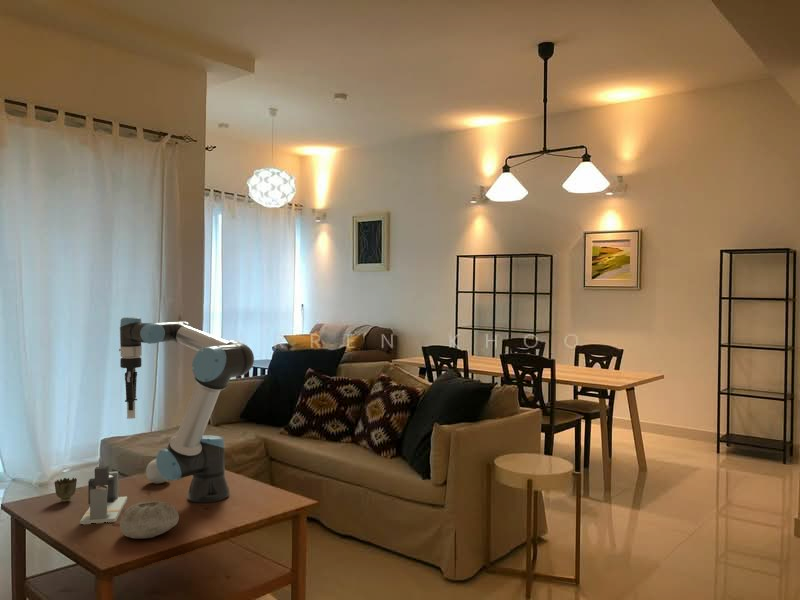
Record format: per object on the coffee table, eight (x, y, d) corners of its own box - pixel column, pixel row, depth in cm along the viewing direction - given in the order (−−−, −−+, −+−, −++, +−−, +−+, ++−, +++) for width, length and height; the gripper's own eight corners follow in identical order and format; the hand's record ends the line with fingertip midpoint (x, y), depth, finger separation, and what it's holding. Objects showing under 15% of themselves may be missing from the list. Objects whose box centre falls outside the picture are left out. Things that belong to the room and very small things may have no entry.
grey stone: (134, 523, 216) (134, 494, 216) (186, 524, 216) (186, 494, 216) (109, 544, 199) (109, 512, 198) (165, 545, 198) (165, 513, 198)
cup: (81, 498, 242) (81, 477, 242) (69, 505, 235) (69, 483, 235) (62, 498, 243) (62, 477, 243) (50, 504, 236) (49, 482, 235)
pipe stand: (95, 501, 238) (95, 472, 238) (127, 499, 241) (127, 470, 241) (80, 524, 215) (79, 492, 215) (115, 521, 218) (115, 489, 218)
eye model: (176, 480, 266) (176, 456, 266) (162, 487, 256) (162, 462, 256) (155, 478, 268) (155, 454, 268) (140, 485, 258) (140, 461, 258)
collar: (90, 501, 224) (90, 467, 224) (115, 499, 226) (114, 465, 226) (88, 504, 221) (88, 469, 221) (113, 502, 223) (113, 468, 223)
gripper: (123, 355, 253) (123, 415, 253) (117, 359, 240) (117, 421, 240) (143, 355, 255) (144, 414, 255) (138, 358, 242) (139, 420, 242)
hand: (131, 418), depth 248 cm, fingers closed
